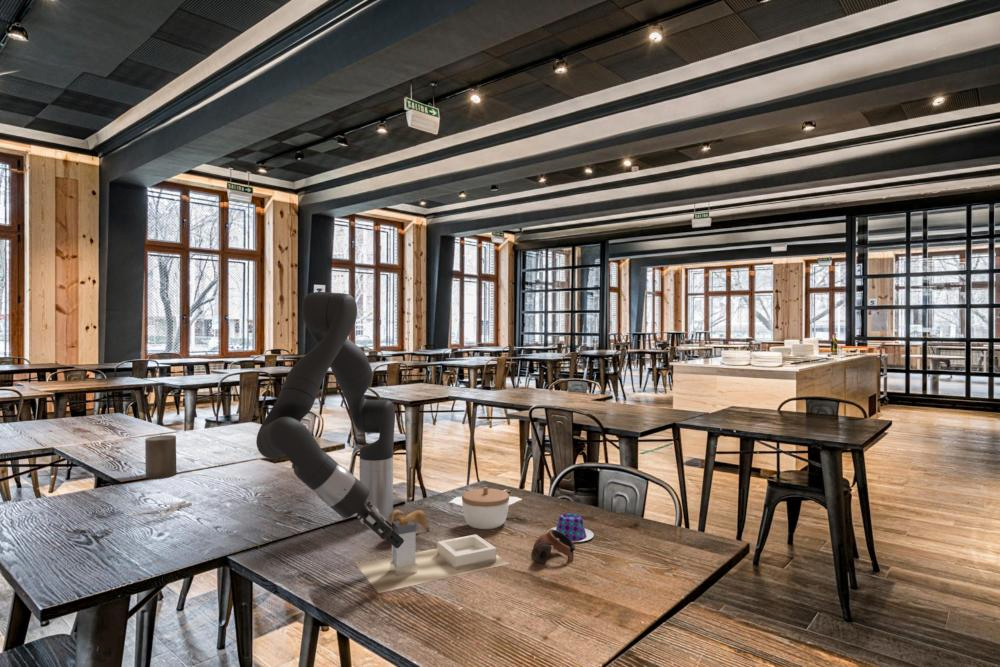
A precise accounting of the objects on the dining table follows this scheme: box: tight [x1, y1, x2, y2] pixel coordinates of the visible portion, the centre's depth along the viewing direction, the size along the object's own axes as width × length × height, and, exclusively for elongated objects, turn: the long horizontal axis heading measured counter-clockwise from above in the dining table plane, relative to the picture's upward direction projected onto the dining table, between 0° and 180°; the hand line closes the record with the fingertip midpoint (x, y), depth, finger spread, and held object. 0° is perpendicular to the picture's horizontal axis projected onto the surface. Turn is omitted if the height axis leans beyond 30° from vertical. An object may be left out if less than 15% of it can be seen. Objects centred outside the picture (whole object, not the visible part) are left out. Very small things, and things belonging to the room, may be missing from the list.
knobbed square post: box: [390, 517, 417, 577], centre depth 127 cm, size 4×5×11 cm
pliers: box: [128, 500, 193, 523], centre depth 171 cm, size 10×2×15 cm
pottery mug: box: [530, 528, 576, 564], centre depth 135 cm, size 12×10×8 cm
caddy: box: [436, 534, 497, 570], centre depth 135 cm, size 10×10×3 cm
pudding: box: [546, 512, 595, 543], centre depth 154 cm, size 12×12×5 cm
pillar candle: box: [144, 434, 178, 480], centre depth 212 cm, size 10×10×15 cm
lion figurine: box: [388, 509, 430, 533], centre depth 150 cm, size 15×5×9 cm, turn 152°
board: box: [355, 548, 510, 594], centre depth 131 cm, size 16×30×2 cm, turn 119°
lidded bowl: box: [461, 486, 510, 530], centre depth 159 cm, size 13×13×11 cm
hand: (395, 537), depth 127 cm, fingers open, 8 cm apart
